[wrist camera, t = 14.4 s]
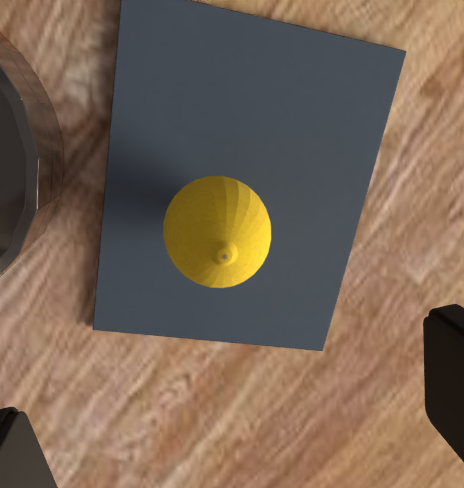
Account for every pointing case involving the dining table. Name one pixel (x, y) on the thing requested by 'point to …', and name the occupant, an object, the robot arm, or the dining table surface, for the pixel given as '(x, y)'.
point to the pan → (25, 157)
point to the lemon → (217, 231)
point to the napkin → (237, 166)
